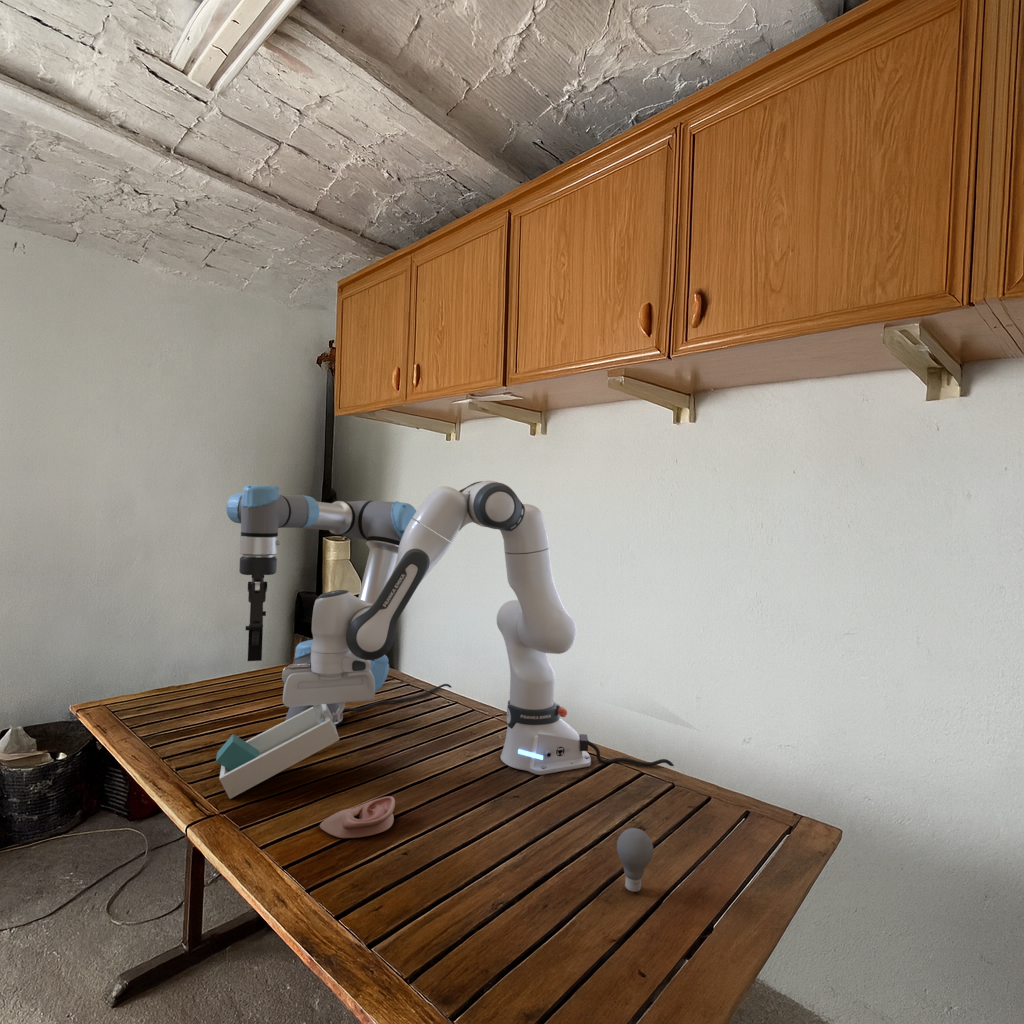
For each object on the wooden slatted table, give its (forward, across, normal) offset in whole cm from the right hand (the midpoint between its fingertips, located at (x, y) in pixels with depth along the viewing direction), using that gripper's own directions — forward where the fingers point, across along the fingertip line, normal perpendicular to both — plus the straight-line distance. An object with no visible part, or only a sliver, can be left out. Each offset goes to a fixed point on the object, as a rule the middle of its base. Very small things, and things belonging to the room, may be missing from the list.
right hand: (328, 722), depth 144 cm
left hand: (-17, -16, 0) cm, 23 cm away
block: (+8, -16, 0) cm, 18 cm away
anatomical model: (+12, +4, -25) cm, 28 cm away
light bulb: (+12, +44, -59) cm, 75 cm away
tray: (+7, -9, 0) cm, 11 cm away
